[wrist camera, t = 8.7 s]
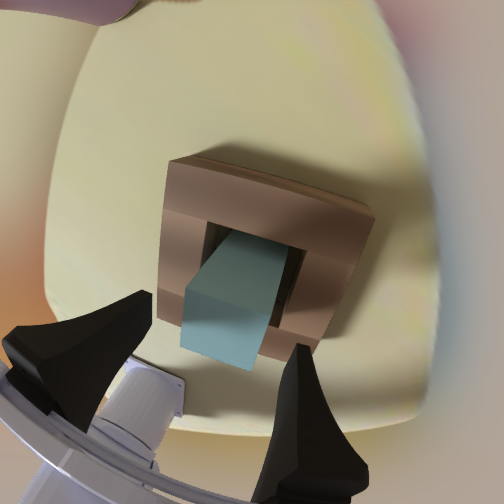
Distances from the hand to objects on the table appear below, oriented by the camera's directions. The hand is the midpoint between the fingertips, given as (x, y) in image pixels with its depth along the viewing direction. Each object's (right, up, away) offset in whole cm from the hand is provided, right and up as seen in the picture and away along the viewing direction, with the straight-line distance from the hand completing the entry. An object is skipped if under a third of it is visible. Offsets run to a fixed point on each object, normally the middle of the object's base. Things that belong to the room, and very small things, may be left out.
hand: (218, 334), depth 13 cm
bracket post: (+2, +3, +7) cm, 8 cm away
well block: (+2, +3, +7) cm, 8 cm away
